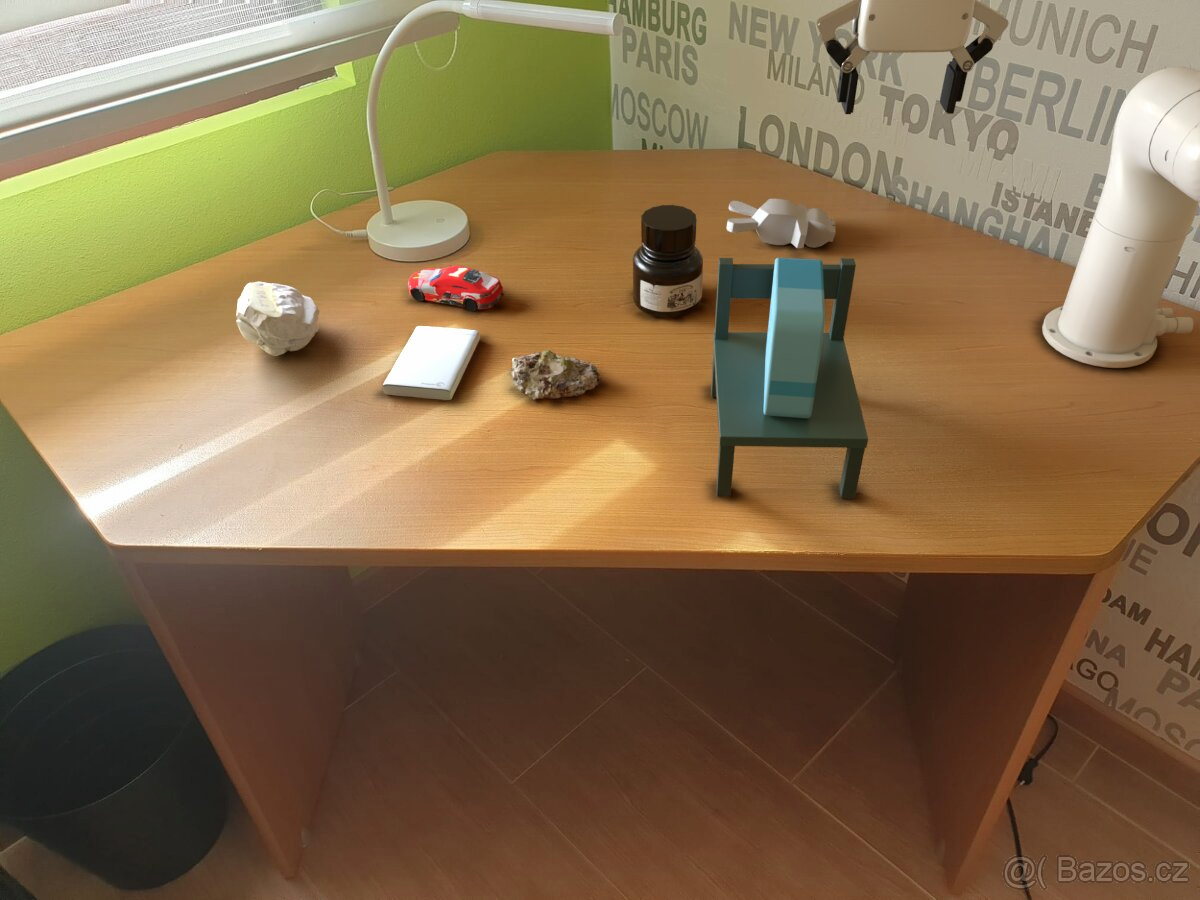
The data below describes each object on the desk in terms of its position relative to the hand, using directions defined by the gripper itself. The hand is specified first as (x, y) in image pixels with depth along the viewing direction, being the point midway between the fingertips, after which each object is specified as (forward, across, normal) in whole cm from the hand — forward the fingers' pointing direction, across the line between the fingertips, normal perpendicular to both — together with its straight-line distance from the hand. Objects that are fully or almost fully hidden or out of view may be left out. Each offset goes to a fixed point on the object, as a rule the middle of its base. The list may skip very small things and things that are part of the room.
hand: (896, 108), depth 94 cm
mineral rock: (+31, +35, +5) cm, 47 cm away
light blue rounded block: (+22, +10, +16) cm, 29 cm away
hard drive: (+31, +50, +2) cm, 59 cm away
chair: (+30, +10, +15) cm, 35 cm away
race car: (+31, +50, -14) cm, 60 cm away
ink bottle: (+31, +22, -13) cm, 40 cm away
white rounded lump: (+31, +70, -3) cm, 76 cm away
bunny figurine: (+31, +6, -30) cm, 43 cm away
